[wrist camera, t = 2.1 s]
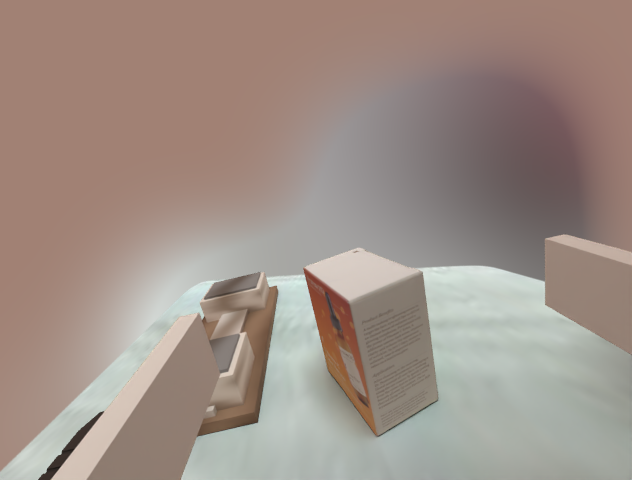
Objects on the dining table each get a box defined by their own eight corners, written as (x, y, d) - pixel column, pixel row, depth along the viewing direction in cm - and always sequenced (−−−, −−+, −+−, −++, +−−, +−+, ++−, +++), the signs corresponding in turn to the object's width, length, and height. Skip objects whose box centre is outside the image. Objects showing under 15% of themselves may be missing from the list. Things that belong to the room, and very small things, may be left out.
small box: (327, 371, 27) (300, 266, 24) (379, 346, 29) (359, 245, 26) (377, 440, 20) (346, 301, 17) (441, 401, 22) (423, 268, 19)
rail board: (278, 291, 46) (271, 266, 45) (257, 422, 23) (241, 377, 22) (216, 305, 47) (207, 281, 45) (134, 450, 23) (112, 407, 22)
